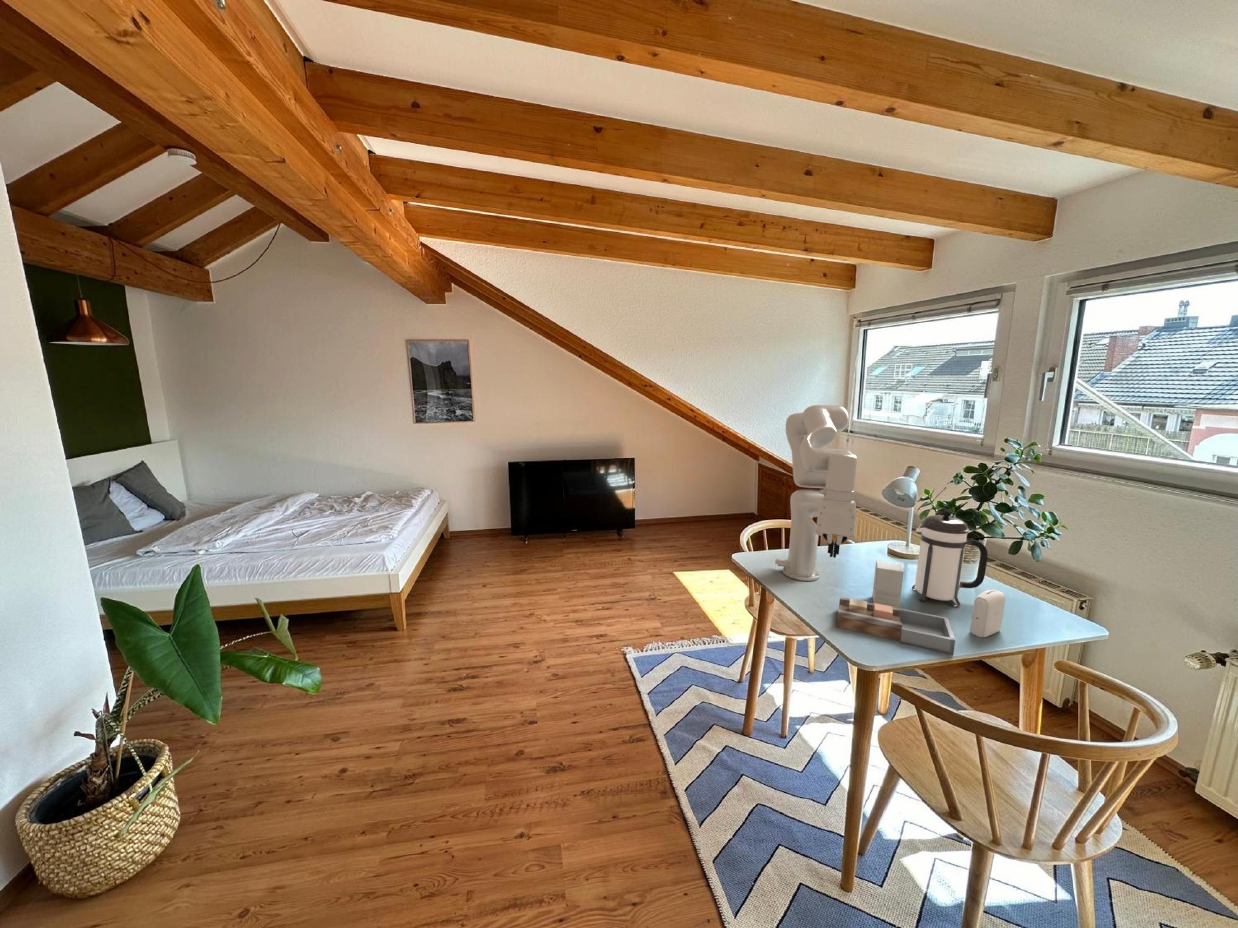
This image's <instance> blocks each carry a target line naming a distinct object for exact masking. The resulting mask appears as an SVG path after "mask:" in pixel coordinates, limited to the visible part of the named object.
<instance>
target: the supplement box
mask: <svg viewBox="0 0 1238 928" xmlns="http://www.w3.org/2000/svg"><path fill="white" fill-rule="evenodd" d="M904 574H905V573H904V570H903V566H902V564H901V563H896V562H895V563H894V562H888V561H882V560H876V561H875V568H874V580H873V587H872V595H871V596H872V600H873V602H872V603H874V604H875V603H876V604H882V605H887V606H892V607H894V608H900V606H901V596H902V589H903V580H904Z"/></svg>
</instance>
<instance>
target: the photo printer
mask: <svg viewBox="0 0 1238 928" xmlns="http://www.w3.org/2000/svg"><path fill="white" fill-rule="evenodd" d="M1005 605H1006V596H1005V594H1004V592H1002V591H999V590H997V589H989V590H988V589H987V590H985V591H982V592H981V593H979V594H978V595H977V596H976V597H975V599H974V602H973V608H972V614H971V622H970V627H969V632H970V633H971V634H972V635H974V636H976V637H979V638H987V637H989V636H991V635H994V634H996V633H998V632H1000V630H1001V628H1002V622H1003V619H1004V618H1003V617H1004V612H1005Z"/></svg>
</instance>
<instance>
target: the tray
mask: <svg viewBox="0 0 1238 928" xmlns="http://www.w3.org/2000/svg"><path fill="white" fill-rule="evenodd" d="M899 609H900V622H901V623H902V629H901V639H900V641H899V642H900V644H905V645H908V646H912V647H918V648H923V649H926V650H931V651H936V652H941V653H945V654H949V655H953V656H954V651H955V646H956V638H955V636H954V633H953V630H952V627H951V622H950V621H949V618H948V617H945V616H940V615H935V614H930V613H926V612H920V611H916V610H915V611H914V610H910V609H905V608H900V607H899Z"/></svg>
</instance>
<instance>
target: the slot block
mask: <svg viewBox="0 0 1238 928" xmlns="http://www.w3.org/2000/svg"><path fill="white" fill-rule="evenodd" d="M866 602H867V611H866V615H863V614H858V613H853V612H849V604H850V598H848V597H844V596H843V597H842V596H840V597H839V605H838V611H837V619H836V627H837V628H841V629H845V630H849V631H854V632H859V633H863V634H867V635H872V636H874V637H875V636H876V637H880V638H885V639H890V640H894V641H898V642H900V639H901V629H902V623H901V622H900V609H899V608H900V607H899V608H894V607H892V610H893V616H892V620H887V619H882V618H877V617H874V614H873V612H874V602H868V601H866Z"/></svg>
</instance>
